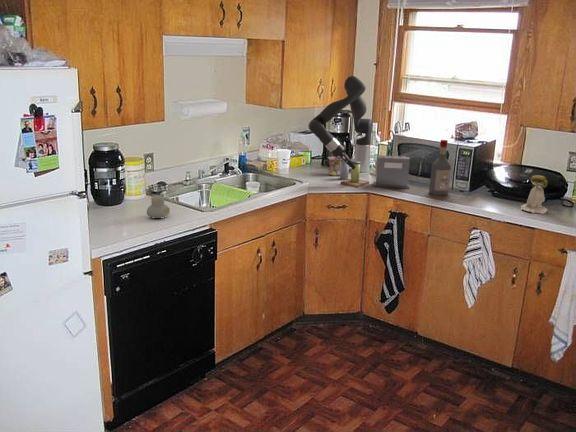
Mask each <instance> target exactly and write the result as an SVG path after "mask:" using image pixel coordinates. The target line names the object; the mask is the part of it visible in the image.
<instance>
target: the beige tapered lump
mask: <svg viewBox="0 0 576 432" xmlns="http://www.w3.org/2000/svg"><path fill="white" fill-rule="evenodd" d="M530 182H531V187H532V188H531V189H530V192H529V193H528V194H529V195H528V198H527V200H526V203H525V204H522V205H520V211H522V210H523V211H526V212H530V213H531V214H537V213H538V214H542V215H543V214H547V213H548V208H546V207H545V206H543V203H544V202H545V200H546V198H545V192H544V189H545V188H546V187H548V180H547V177H545V176H544V175H540V174H538V175H537V174H536V175H535V174H534V175H532V176H531V178H530Z"/></svg>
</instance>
